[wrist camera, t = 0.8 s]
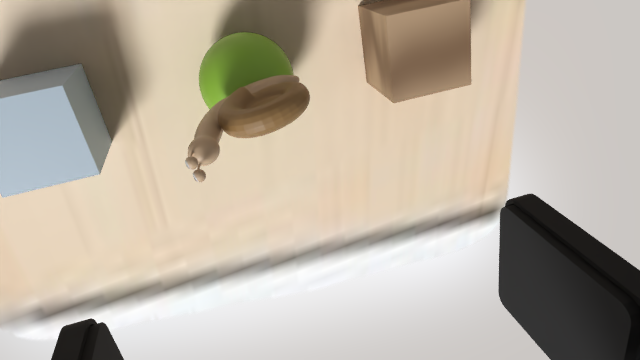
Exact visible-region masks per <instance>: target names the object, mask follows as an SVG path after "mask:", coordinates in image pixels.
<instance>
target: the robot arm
mask: <svg viewBox="0 0 640 360" xmlns="http://www.w3.org/2000/svg"><path fill="white" fill-rule="evenodd" d="M499 250H500V252H499V297H500V299H501V302H502V304H503V305H504V307H505V308H506V309H507V310H508V311H509V312H510V313H511V315H512V316H513V317H514V318H515V319H516V321H517V322H518V323H519V324H520V325H521V326H522V327H523V329H524V330H525V331H526V332H527V333H528V334H529V335H530V337H531V338H532V339H533V340H534V341H535V342H536V343H537V345H538V346H539V347H540V348H541V349H542V350H543V351H544V353H546V355H547V356H548V357H549V358H550V359H551V360H640V270H638V269H637V268H636V267H634V266H633V265H631V264H630V263H629V262H627V261H626V260H624V259H623V258H622V257H620V256H619V255H617V254H616V253H615V252H613V251H612V250H611V249H609V248H608V247H606V246H605V245H604V244H602V243H601V242H599V241H598V240H596V239H595V238H594V237H592V236H591V235H590V234H588V233H587V232H586V231H584V230H583V229H581V228H580V227H579V226H577V225H576V224H574V223H573V222H572V221H570V220H569V219H568V218H566V217H565V216H563V215H562V214H561V213H559V212H558V211H556V210H555V209H554V208H552V207H551V206H550V205H548V204H546V203H545V202H544V201H542V200H541V199H540V198H538V197H537V196H536V195H534V194H527V195H523V196H520V197H517V198H513V199H509V200H508V201H507V202H506V204H505V207H503V208H502V209H501V212H500V249H499ZM51 360H124V359H123V357H122V355H121V353H120V351H119V349H118V347H117V345H116V343H115V341H114V339H113V337H112V335H111V333H110V331H109V329H108V327H107V326H106V324H105V323H103V322H102V323H98V324H97V323H96V321H95V320H94V319H87V320H84V321H80V322H77V323H73V324H70V325H66V326H64V327H63V328H62V329H61V331H60V334H59V337H58V340H57V343H56V347H55V350H54V353H53V356H52V359H51Z"/></svg>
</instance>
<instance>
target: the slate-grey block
mask: <svg viewBox="0 0 640 360" xmlns="http://www.w3.org/2000/svg"><path fill="white" fill-rule="evenodd" d="M111 143H112V140H111V137H110V135H109V132H108V130H107V127H106V125H105V122H104V120H103V117H102V115H101V112H100V110H99V107H98V105H97V102H96V100H95V97H94V94H93V92H92V89H91V87H90V84H89V82H88V79H87V77H86V74H85V72H84V69H83V67H82V64H77V65H72V66H67V67H62V68H57V69H52V70H48V71H43V72H38V73H33V74H28V75H24V76H19V77H14V78H9V79H4V80H0V194H1V196H2V197H7V196H11V195H16V194H20V193H24V192H28V191H32V190H36V189H40V188H45V187H49V186H53V185H57V184H61V183H65V182H69V181H74V180H78V179H82V178H86V177H90V176H94V175H98V174H100V173H101V170H102V167H103V164H104V162H105V159H106V156H107V154H108V151H109V148H110V146H111Z"/></svg>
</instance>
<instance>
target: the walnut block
mask: <svg viewBox="0 0 640 360" xmlns="http://www.w3.org/2000/svg"><path fill="white" fill-rule="evenodd" d="M358 10H359V18H360V27H361V36H362V44H363V53H364V62H365V71H366V79H367V83H369V84H370V85H371V86H372V87H374V88H375V89H376V90H378V91H379V92H380V93H381V94H383V95H384V96H385V97H387V98H388V99H389V100H390V101H392V102H393V103H397V102H401V101H405V100H409V99H413V98H417V97H421V96H425V95H430V94H434V93H438V92H442V91H446V90H450V89H454V88H459V87H463V86H467V85H471V18H470V0H383V1H379V2H374V3H369V4H364V5H360V6H358Z"/></svg>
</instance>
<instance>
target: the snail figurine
mask: <svg viewBox="0 0 640 360" xmlns="http://www.w3.org/2000/svg"><path fill="white" fill-rule="evenodd" d="M199 86H200V91H201V94H202V97H203V99H204V101H205V103H206V105H207V106H208V108H209V109H210V110H209V111H208V113H207V114H206V115H205V116H204V117H203V119H202V120H201V122H200V124H199V126H198V128H197V130H196V133H195V137H194V140H193V141H192V142H191V143H190V145H189V147H188V158H187V159H186V160H185V163H186V165H187V167H188V168H189V169H195V168H196V167H197V166H198V169H197V170H195V171H194V173H193V177H194V179H195V180H196V181H197V182H202V181H204V180H205V178H206V174H205V172H204V171H203V170H201V169H199V168H200V166H206V165H209V164H211V163H213V162H214V161H215V160H216V159H217V157H218V155H219V152H220V147H219V144H218V143H219V141H220V138H221V136H222V132H223V130H224V131H225V132H226V133H227V134H229V135H231V136H233V137H237V138H253V137H258V136H262V135H265V134H269V133H271V132H274V131H276V130H278V129H280V128H282V127H284V126H286V125H288V124H290V123H291V122H293V121H294V120H295V119H297V118H298V117H299V116H300V115H301V114H302V113H303V112H304V111H305V109H306V108H307V106H308V104H309V100H310V95H309V91H308V89H307V88H306V87H305V86H304V85H303V84H301V83H299V78H298V77H297V76H294V75H293V70H292V67H291V64H290V62H289V59H288V58H287V56H286V54H285V53H284V52H283V50H282V49H281V48H280V47H279V46H278V45H277V44H276V43H275V42H273V41H272V40H270V39H268V38H267V37H265V36H262V35H259V34H256V33H249V32H241V33H234V34H231V35H228V36H226V37H224V38H222V39H220V40H219V41H217V42H216V43H215V44H214V45H213V46H212V47H211V48H210V49H209V50H208V52H207V53H206V55H205V57H204V58H203V61H202V63H201V67H200V72H199Z"/></svg>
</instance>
